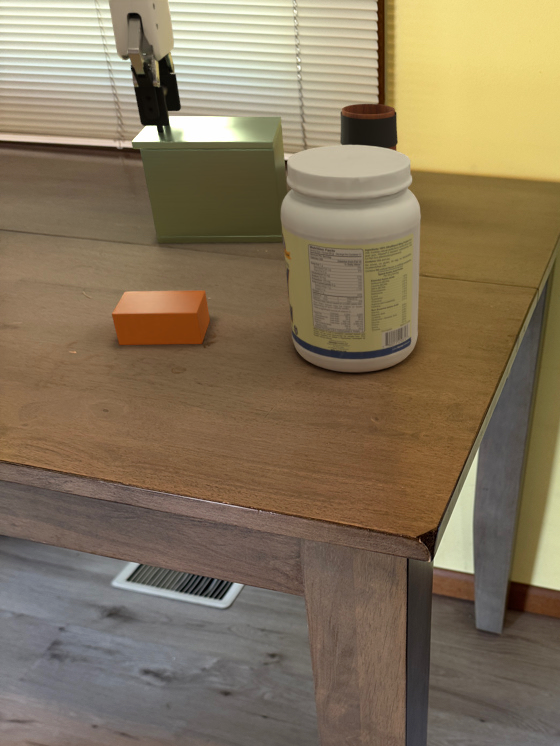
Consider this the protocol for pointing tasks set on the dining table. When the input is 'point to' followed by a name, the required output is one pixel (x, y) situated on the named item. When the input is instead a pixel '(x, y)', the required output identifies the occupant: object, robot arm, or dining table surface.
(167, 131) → the bin lid
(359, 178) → the supplement tub
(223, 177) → the bin
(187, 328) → the orange block
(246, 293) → the dining table surface
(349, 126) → the mug
